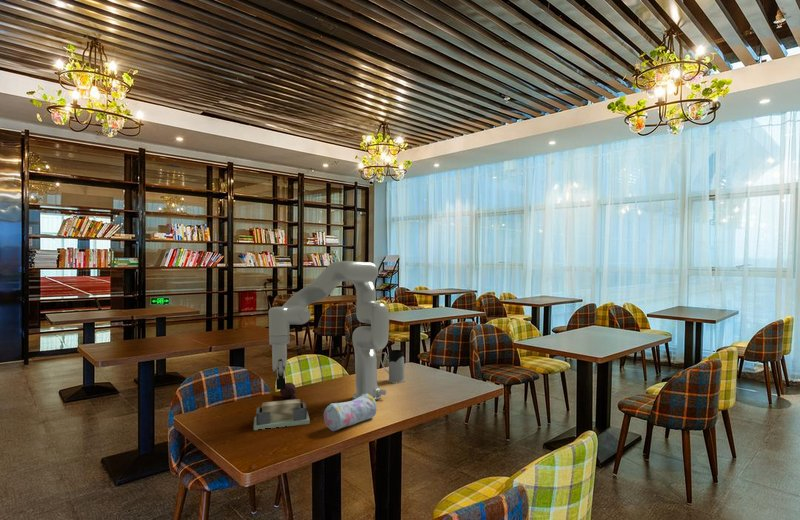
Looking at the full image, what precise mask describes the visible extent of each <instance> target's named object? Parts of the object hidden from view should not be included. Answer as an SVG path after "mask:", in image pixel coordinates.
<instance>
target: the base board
mask: <svg viewBox="0 0 800 520" xmlns="http://www.w3.org/2000/svg"><path fill="white" fill-rule="evenodd" d="M310 422H311V420H310V416H309V412H308V411H307V419H305V420H296V421H294V419H290V420H282V421H273V422H270V424H262V425H257V422H256V416H254V419H253V431H259V430H258V429H262V430H266V429H265V428H271V429H277V428H276V427H279V428H285V426H287V427H294V426H302V425H303V426H304V425H309V424H311V423H310Z"/></svg>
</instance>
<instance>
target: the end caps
mask: <svg viewBox="0 0 800 520" xmlns="http://www.w3.org/2000/svg"><path fill="white" fill-rule="evenodd" d="M300 402H301V401H300ZM307 412H308V410H307V406H306V402H305V401H302V402H301V408H300V409H293V415H294V421H296V420H305V419H307ZM255 413H256V415H255V417H256V422H257V425H262V424H270V412H264V413H262V406H257V407H256V412H255Z"/></svg>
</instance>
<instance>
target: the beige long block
mask: <svg viewBox="0 0 800 520" xmlns="http://www.w3.org/2000/svg"><path fill="white" fill-rule="evenodd" d="M261 407H262V413H264V412H270V422H273V421H282V420H290V419H294V415H293V409H300V408H301V399H300V398H297V399H293V398H292V399H285V400H275V401H266V402H265V401H264V402H262V403H261Z"/></svg>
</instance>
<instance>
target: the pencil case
mask: <svg viewBox="0 0 800 520" xmlns="http://www.w3.org/2000/svg"><path fill="white" fill-rule="evenodd" d="M376 414H377V403H376V400H375V399H374V398H373V397H372V396H371V395H369V394H367V393H366V394H362V395H360V396H359V397H358V398H356V399H352V400H349V401H344V402H334V403H330V404H329V405H327V407H326V408H325V409H324V411H323V419H324V420H323V421H324V423H325V425H326V427H327V428H328V429H330V431H332V432H335V431H338V430H340V429H343V428H346V427H349V426H354V425H356V424H359V423H361V422H364V421H367V420H371V419H372V418H374V417H375V416H376Z"/></svg>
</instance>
